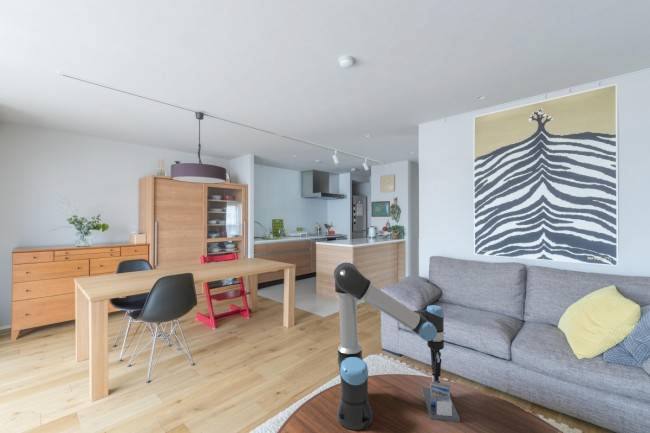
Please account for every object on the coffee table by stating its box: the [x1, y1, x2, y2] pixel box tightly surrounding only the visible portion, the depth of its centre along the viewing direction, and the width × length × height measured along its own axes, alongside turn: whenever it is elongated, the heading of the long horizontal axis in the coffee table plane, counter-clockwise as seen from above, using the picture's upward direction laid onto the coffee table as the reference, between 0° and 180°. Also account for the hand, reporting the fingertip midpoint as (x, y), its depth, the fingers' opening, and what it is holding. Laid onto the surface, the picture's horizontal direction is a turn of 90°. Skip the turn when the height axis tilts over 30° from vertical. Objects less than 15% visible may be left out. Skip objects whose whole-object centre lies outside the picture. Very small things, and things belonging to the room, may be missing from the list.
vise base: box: [421, 387, 461, 423], centre depth 133 cm, size 12×21×8 cm, turn 170°
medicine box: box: [430, 381, 451, 406], centre depth 131 cm, size 8×4×9 cm, turn 64°
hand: (436, 387), depth 139 cm, fingers closed
